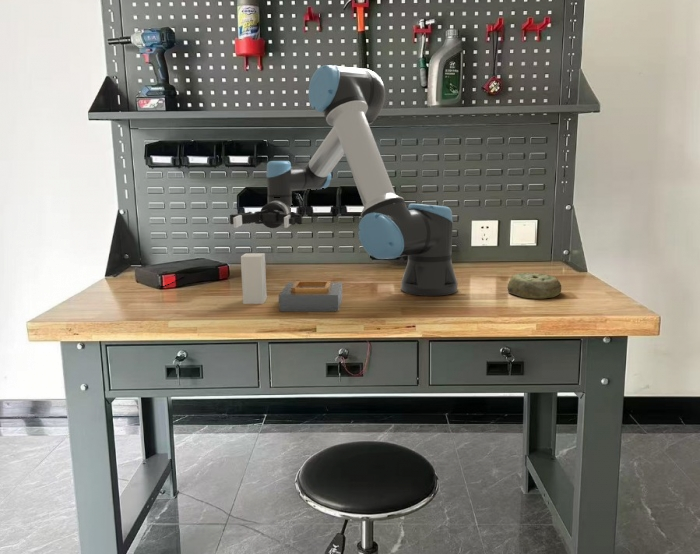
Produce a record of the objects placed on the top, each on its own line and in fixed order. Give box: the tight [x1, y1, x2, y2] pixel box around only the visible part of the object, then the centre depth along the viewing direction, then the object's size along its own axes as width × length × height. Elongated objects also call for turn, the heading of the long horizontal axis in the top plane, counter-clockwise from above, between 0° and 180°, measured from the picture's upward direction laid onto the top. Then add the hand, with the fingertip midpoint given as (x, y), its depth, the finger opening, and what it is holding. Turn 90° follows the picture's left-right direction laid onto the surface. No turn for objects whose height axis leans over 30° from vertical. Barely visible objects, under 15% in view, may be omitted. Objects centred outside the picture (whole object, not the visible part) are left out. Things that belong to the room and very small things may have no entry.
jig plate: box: [278, 280, 343, 313], centre depth 148 cm, size 14×14×5 cm
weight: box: [507, 272, 562, 300], centre depth 156 cm, size 14×13×5 cm
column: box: [240, 252, 268, 305], centre depth 151 cm, size 5×5×12 cm
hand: (260, 222), depth 159 cm, fingers open, 13 cm apart
